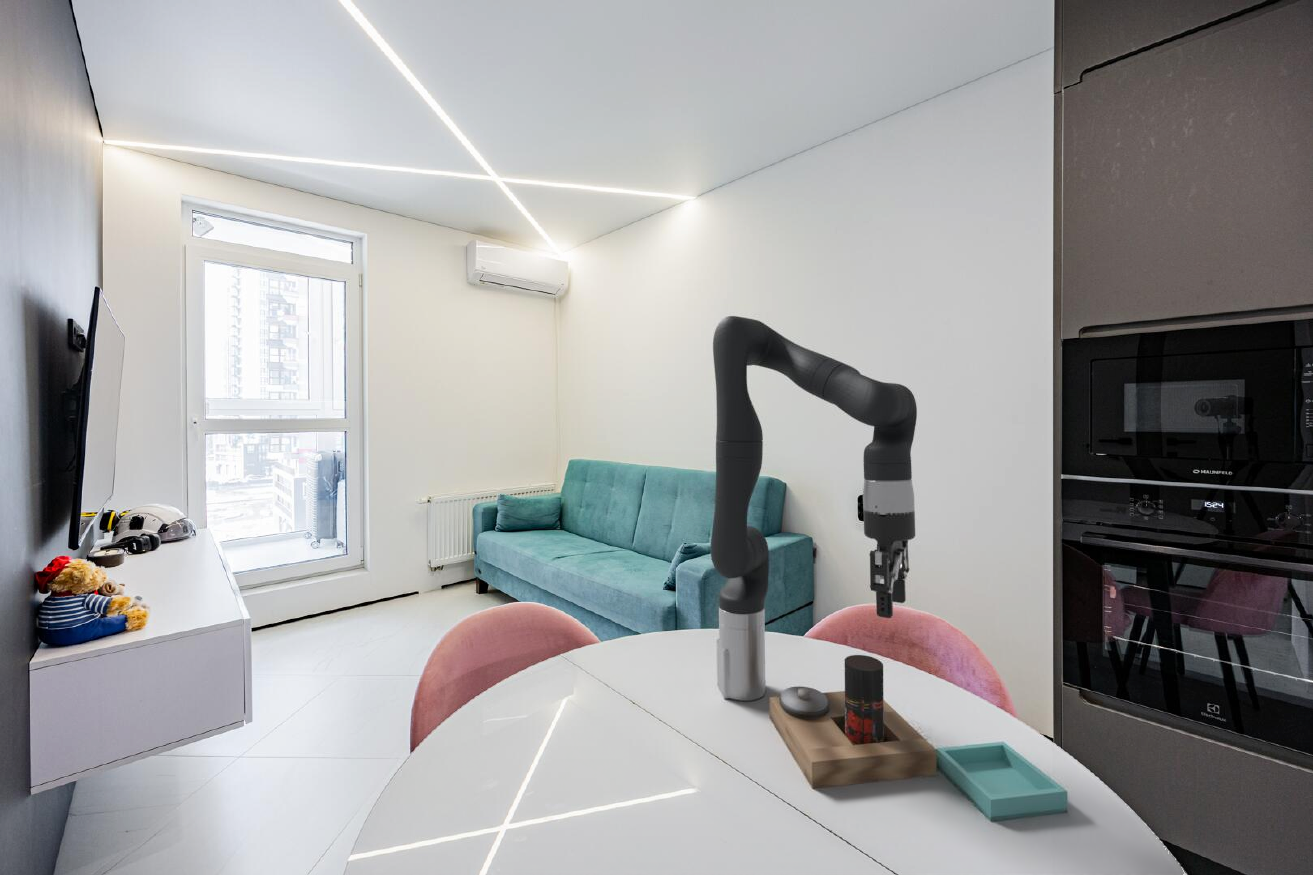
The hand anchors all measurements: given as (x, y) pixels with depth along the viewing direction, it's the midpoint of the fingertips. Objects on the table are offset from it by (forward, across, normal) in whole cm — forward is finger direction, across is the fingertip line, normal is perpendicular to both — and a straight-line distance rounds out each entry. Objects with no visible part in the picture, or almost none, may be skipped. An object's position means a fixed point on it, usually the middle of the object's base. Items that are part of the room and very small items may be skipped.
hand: (891, 609), depth 85 cm
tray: (+25, -2, +13) cm, 28 cm away
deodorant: (+25, 0, -5) cm, 25 cm away
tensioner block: (+24, 0, -8) cm, 26 cm away
